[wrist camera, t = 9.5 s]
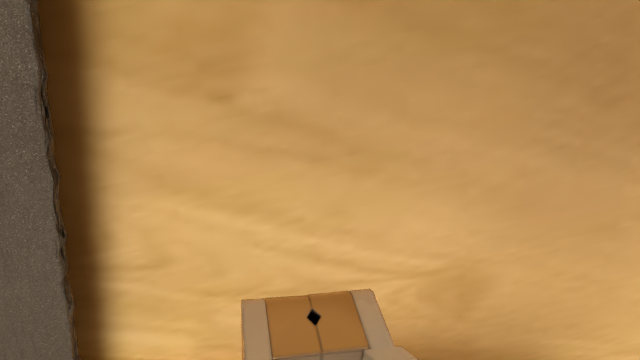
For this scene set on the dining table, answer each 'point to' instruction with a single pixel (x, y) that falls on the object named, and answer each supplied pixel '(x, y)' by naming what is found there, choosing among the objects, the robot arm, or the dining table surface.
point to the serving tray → (30, 201)
